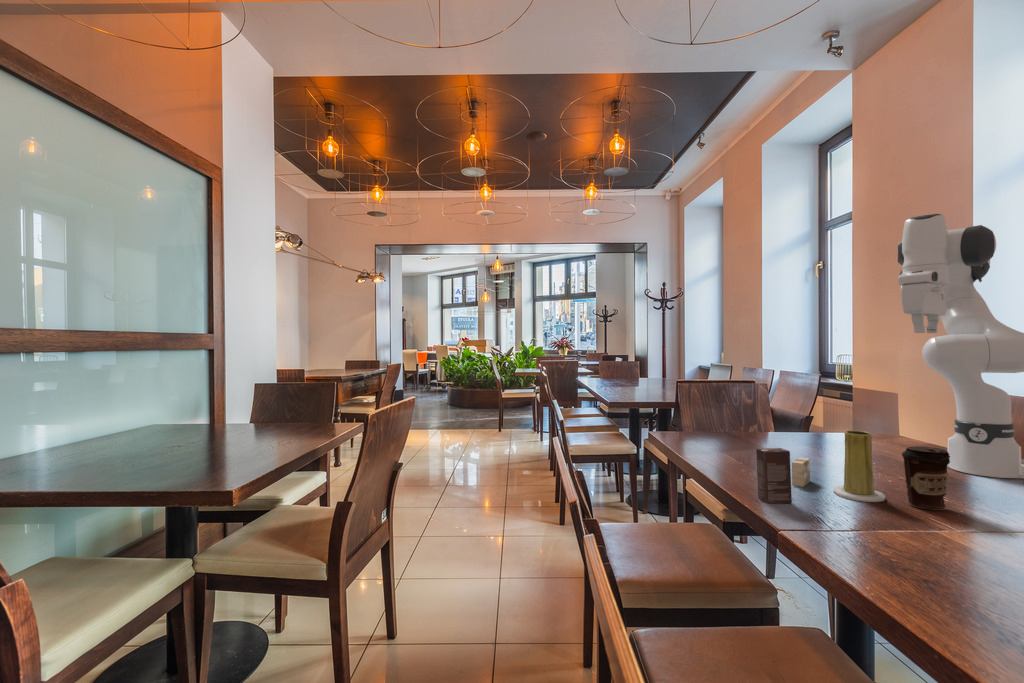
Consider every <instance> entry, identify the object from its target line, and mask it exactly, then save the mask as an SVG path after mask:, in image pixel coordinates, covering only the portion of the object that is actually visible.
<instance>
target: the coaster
mask: <svg viewBox="0 0 1024 683" xmlns="http://www.w3.org/2000/svg"><path fill="white" fill-rule="evenodd" d="M843 487H844V485H841V486H840V485H839V486H835V487H834V488H833V494H835V495H836V496H837V497H839V498H840V497H841V498H844V499H847V500H850V501H856V502H863V503H882V502H885V501H886V495H885V494H884V493H883V492H881V491H878V490H875V489H874V491H875V493H874V494H873V495H859V494H853V493H850V492H847V491H845V490H844V489H843Z"/></svg>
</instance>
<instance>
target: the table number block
mask: <svg viewBox="0 0 1024 683" xmlns="http://www.w3.org/2000/svg"><path fill="white" fill-rule="evenodd" d="M810 463H811V460H810V458H805V457H800V456H799V457H797V458H796V459H795V460H793V461H792V462H791V486H796V487H801V488H803V487H804V486H806V485H807V484H808V483H810V482H811V464H810Z"/></svg>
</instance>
